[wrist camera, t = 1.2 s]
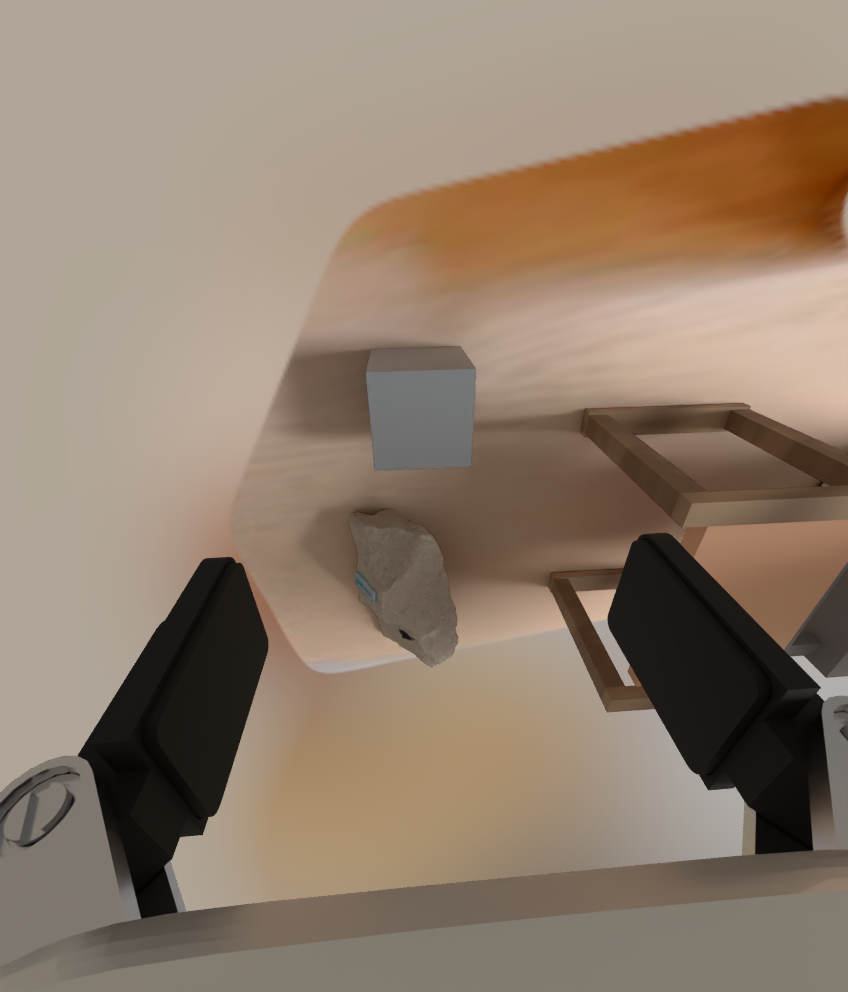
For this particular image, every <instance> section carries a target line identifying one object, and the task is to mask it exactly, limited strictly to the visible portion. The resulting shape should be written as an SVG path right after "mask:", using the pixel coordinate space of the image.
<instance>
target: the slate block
mask: <svg viewBox="0 0 848 992" xmlns="http://www.w3.org/2000/svg"><path fill="white" fill-rule="evenodd" d="M475 380H476V368H475V367H474V365H473V364H472V362H471V361H470V359H469V358H468V356H467V355H466V353H465V352H464V350H463V349H462V347H461V346H459V347H426V348H392V349H371V352H370V356H369V361H368V365H367V369H366V382H367V392H368V403H369V414H370V425H371V435H372V446H373V457H374V468H375V471H380V470H403V469H426V468H448V467H471V456H472V437H473V418H474V399H475Z"/></svg>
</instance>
